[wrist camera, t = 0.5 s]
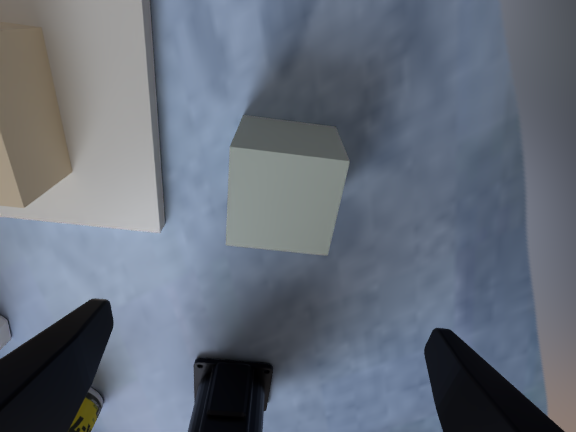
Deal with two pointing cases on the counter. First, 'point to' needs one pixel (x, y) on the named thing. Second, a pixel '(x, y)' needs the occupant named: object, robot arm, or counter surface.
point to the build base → (79, 114)
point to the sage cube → (284, 185)
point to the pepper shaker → (4, 332)
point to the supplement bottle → (87, 412)
